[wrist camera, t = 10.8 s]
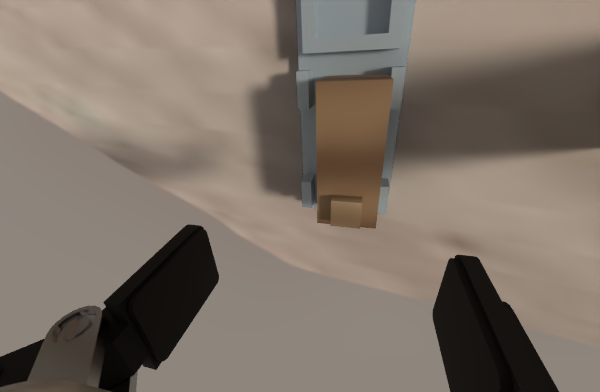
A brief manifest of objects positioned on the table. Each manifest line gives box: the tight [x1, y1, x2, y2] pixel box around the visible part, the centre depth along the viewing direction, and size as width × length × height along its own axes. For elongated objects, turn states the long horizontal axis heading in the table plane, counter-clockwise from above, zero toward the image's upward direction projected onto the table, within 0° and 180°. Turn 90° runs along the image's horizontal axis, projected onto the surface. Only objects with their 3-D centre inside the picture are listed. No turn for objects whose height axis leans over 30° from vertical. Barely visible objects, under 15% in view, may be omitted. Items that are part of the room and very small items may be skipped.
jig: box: [296, 0, 416, 214], centre depth 22 cm, size 22×9×3 cm, turn 2°
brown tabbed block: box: [315, 74, 394, 228], centre depth 21 cm, size 12×5×7 cm, turn 2°
